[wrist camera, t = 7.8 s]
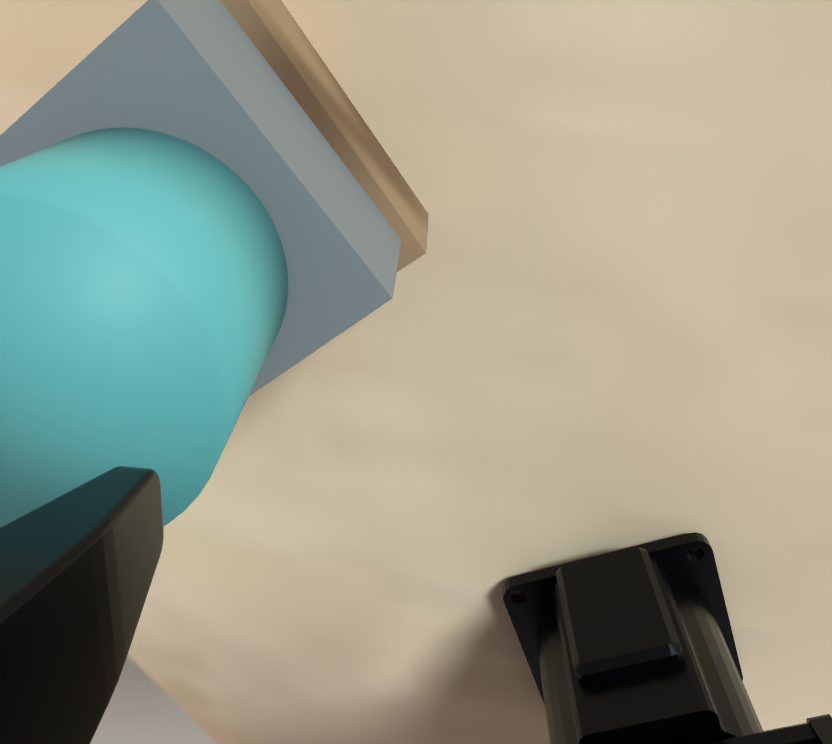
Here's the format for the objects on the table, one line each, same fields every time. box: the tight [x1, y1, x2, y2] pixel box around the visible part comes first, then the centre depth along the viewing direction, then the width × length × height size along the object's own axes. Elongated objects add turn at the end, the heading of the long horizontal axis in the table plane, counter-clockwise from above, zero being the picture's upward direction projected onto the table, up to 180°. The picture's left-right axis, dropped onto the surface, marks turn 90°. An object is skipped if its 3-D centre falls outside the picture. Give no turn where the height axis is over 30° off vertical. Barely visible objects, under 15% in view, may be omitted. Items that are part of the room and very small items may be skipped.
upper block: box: [0, 0, 401, 395], centre depth 15 cm, size 6×6×4 cm
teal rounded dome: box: [0, 127, 288, 527], centre depth 12 cm, size 5×5×4 cm
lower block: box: [221, 0, 428, 272], centre depth 19 cm, size 7×7×4 cm
